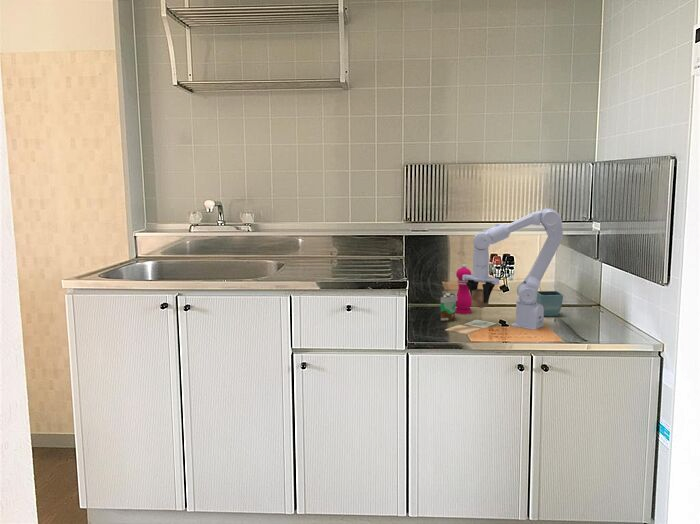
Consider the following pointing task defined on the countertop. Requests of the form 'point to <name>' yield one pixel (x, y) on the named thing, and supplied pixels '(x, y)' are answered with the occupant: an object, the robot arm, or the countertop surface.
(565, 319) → the countertop surface
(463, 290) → the pepper mill
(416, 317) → the countertop surface
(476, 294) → the block
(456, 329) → the coaster
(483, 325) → the tile
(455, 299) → the food container
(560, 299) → the flower pot
